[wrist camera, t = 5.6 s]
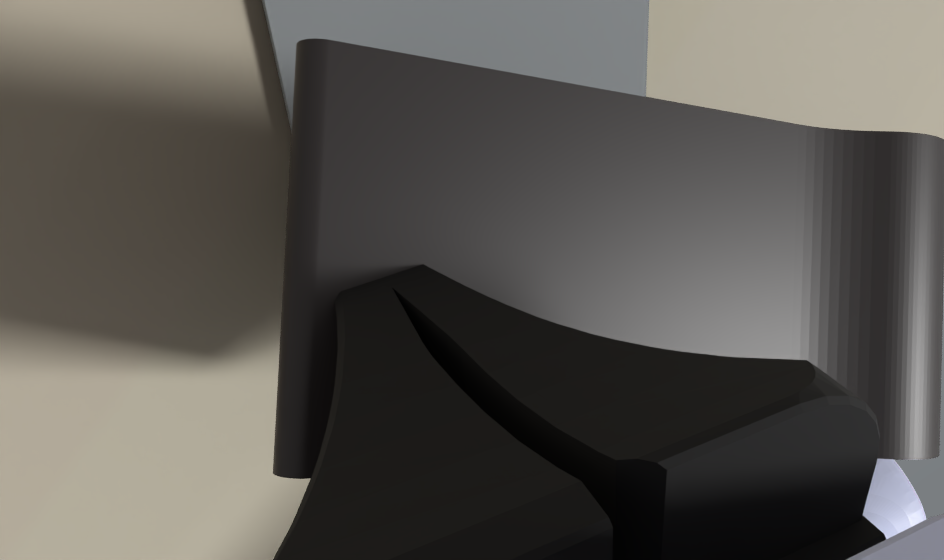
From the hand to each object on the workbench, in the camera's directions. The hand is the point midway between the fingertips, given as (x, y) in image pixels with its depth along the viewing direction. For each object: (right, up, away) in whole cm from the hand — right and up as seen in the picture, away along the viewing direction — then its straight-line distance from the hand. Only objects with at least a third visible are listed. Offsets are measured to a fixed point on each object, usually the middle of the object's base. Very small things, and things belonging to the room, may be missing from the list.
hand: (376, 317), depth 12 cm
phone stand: (-2, +1, +3) cm, 3 cm away
